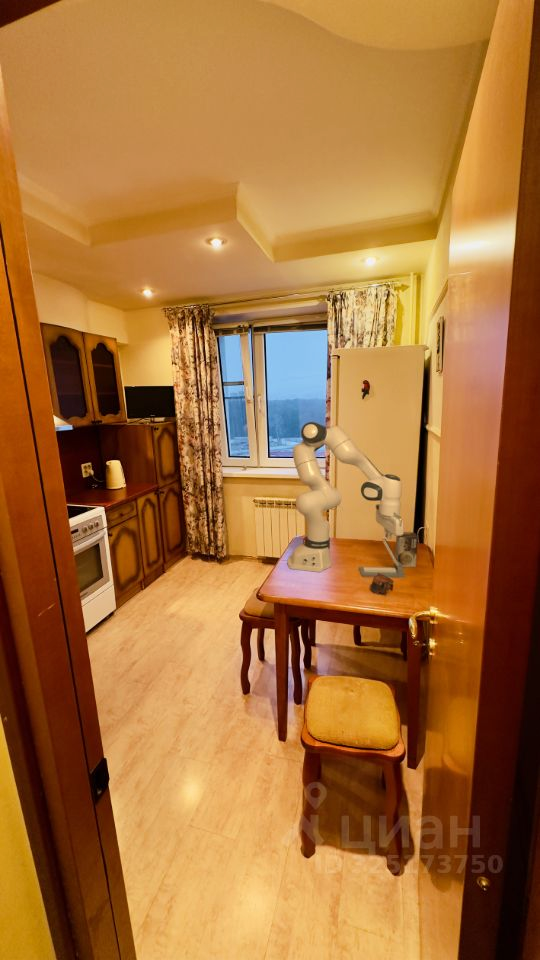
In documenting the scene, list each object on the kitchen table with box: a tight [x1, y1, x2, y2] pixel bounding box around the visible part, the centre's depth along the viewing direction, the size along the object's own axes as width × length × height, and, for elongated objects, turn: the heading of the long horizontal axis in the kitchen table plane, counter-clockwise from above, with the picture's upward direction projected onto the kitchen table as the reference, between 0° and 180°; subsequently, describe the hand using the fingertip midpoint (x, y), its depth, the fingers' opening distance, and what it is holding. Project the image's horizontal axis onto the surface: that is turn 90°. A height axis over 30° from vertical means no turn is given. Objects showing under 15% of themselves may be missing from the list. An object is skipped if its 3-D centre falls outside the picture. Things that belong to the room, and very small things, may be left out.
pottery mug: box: [369, 573, 395, 595], centre depth 158 cm, size 12×10×8 cm
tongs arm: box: [381, 538, 400, 567], centre depth 171 cm, size 16×3×2 cm
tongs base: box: [358, 561, 406, 579], centre depth 174 cm, size 20×8×4 cm, turn 86°
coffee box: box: [394, 531, 419, 568], centre depth 181 cm, size 9×6×16 cm
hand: (388, 537), depth 170 cm, fingers closed
